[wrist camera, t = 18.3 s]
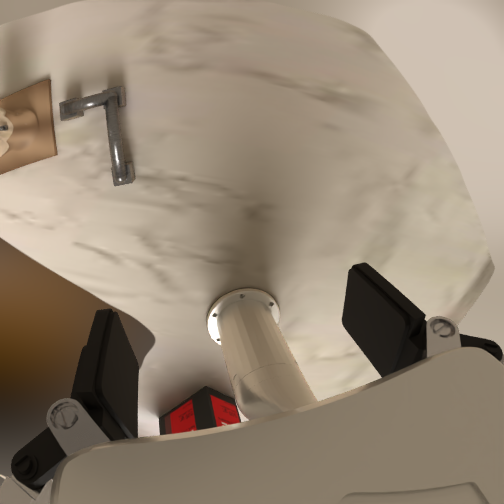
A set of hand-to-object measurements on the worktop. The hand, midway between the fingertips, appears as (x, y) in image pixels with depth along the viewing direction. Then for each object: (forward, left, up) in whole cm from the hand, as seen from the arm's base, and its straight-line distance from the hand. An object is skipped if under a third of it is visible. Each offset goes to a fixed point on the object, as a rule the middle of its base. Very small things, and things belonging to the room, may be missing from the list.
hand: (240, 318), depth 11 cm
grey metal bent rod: (+7, +12, -30) cm, 33 cm away
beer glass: (+12, +24, -30) cm, 40 cm away
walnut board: (+12, +24, -30) cm, 40 cm away
